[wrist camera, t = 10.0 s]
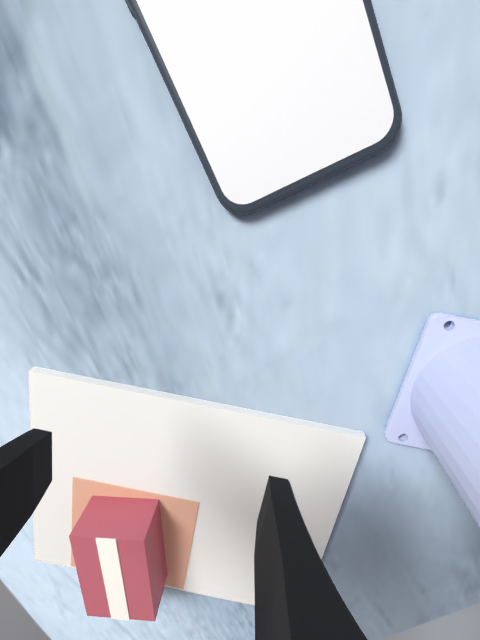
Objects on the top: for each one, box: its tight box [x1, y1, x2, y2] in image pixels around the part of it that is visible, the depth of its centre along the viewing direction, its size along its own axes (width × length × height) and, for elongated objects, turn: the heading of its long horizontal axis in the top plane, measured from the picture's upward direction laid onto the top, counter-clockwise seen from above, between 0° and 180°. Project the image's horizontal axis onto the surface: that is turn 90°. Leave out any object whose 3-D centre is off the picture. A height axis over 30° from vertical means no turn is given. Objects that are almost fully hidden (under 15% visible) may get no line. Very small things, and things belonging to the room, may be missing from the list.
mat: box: [29, 366, 366, 605], centre depth 24 cm, size 20×16×1 cm
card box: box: [69, 496, 167, 621], centre depth 24 cm, size 7×4×3 cm, turn 1°
